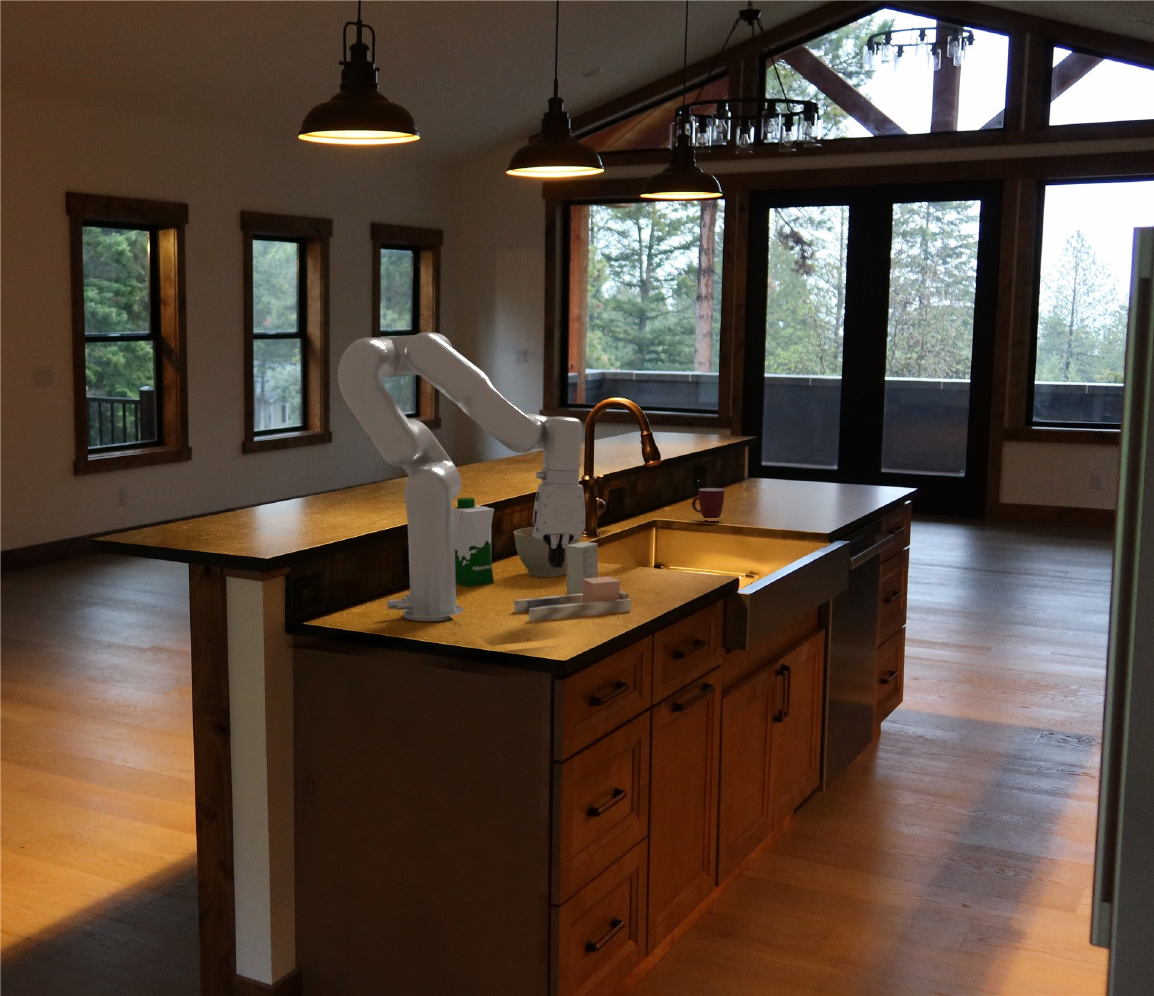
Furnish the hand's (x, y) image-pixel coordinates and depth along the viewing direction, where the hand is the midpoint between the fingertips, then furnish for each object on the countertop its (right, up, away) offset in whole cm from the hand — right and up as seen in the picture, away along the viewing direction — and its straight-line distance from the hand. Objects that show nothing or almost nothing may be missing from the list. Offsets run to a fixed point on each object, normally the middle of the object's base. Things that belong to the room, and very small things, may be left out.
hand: (555, 566), depth 249 cm
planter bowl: (-3, -5, +48) cm, 48 cm away
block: (+9, -9, +4) cm, 14 cm away
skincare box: (+6, -8, +20) cm, 22 cm away
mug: (+46, +7, +133) cm, 141 cm away
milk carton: (-20, -6, +37) cm, 43 cm away
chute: (+3, -11, +2) cm, 11 cm away
